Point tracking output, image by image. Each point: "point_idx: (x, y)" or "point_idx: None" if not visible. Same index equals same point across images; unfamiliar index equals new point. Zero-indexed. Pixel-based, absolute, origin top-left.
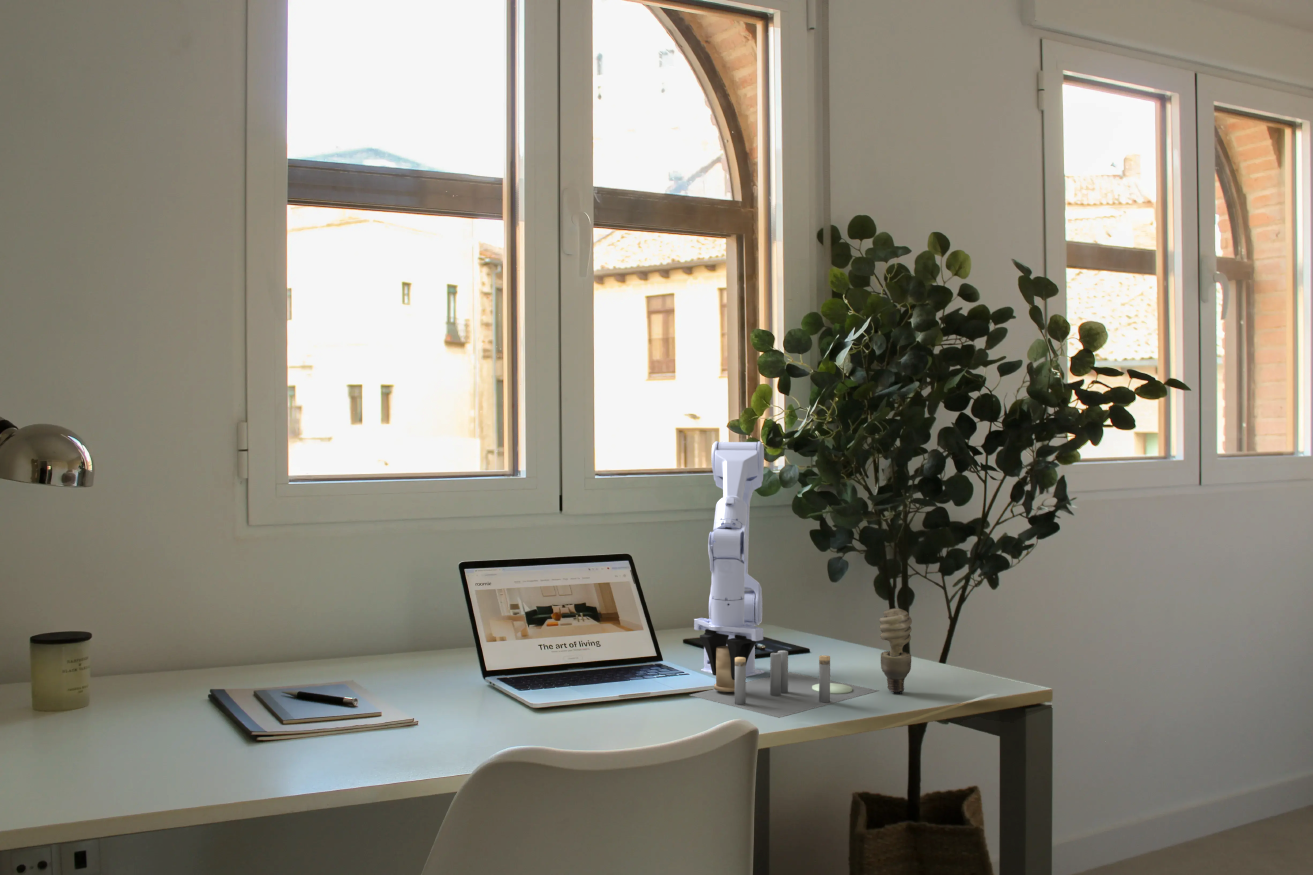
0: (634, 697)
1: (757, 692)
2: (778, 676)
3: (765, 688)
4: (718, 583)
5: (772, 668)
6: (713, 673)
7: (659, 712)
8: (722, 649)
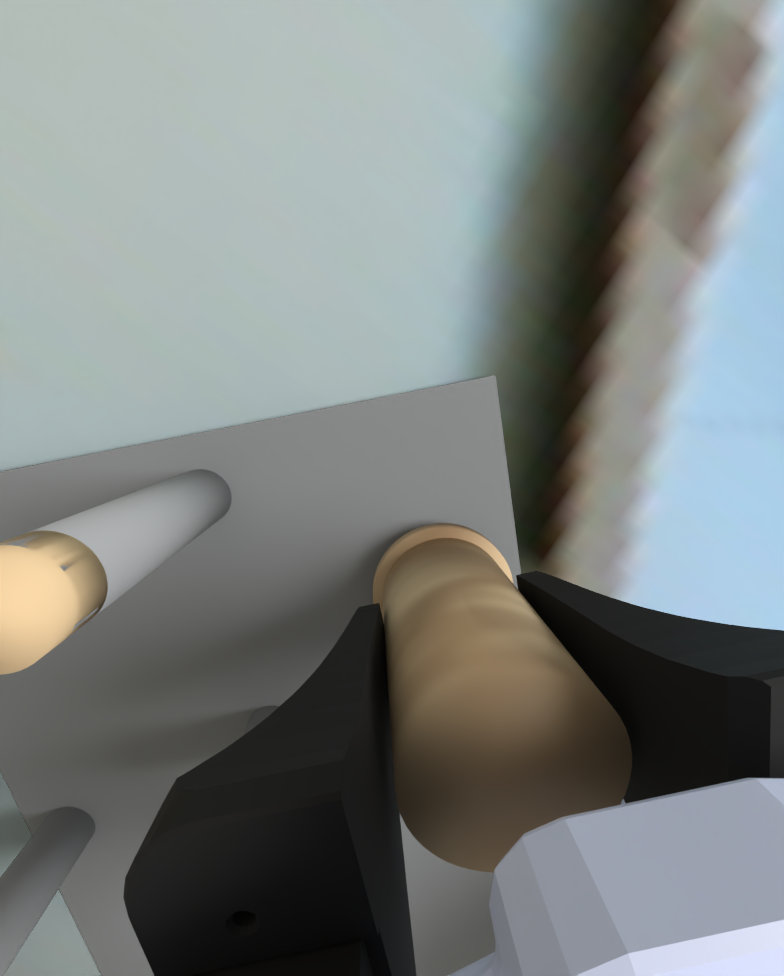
0: (663, 98)
1: None
2: None
3: None
4: None
5: None
6: (531, 573)
7: (293, 3)
8: (483, 697)
